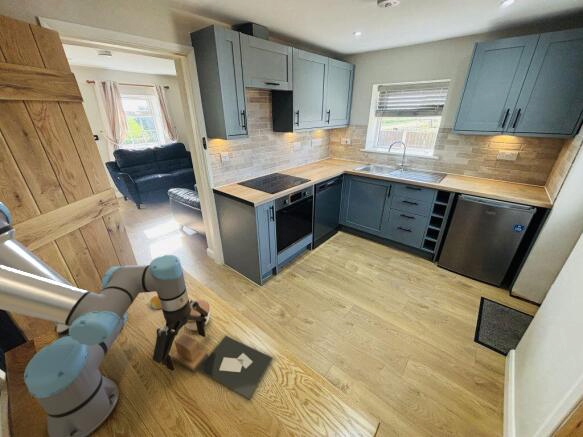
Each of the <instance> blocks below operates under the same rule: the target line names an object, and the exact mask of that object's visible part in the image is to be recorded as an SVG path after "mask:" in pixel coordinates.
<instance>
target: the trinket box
mask: <svg viewBox="0 0 583 437" xmlns="http://www.w3.org/2000/svg"><path fill="white" fill-rule="evenodd" d="M193 301H196V302H198V304H199V306H200V307H201V308H202V309H203V310H205V311H206V312H207V313H208V316H207V317H205V319H207V320H206V322H205V326H207V324H208V322H209V321H210V318H211V307H210V304H209V302H208V301H207V300H205V299H195V300H193ZM189 303H190V301H189ZM190 314H192V315H197V316H200V315H201V314H200V313H199V312H197V311H196V310H195V309H191V313H190ZM183 327H185V328H186V329H188V330H190V331H198V330H197V325H196V321H195V320H188V321H187V323H186V324H185V325H184V326H183Z"/></svg>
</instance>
